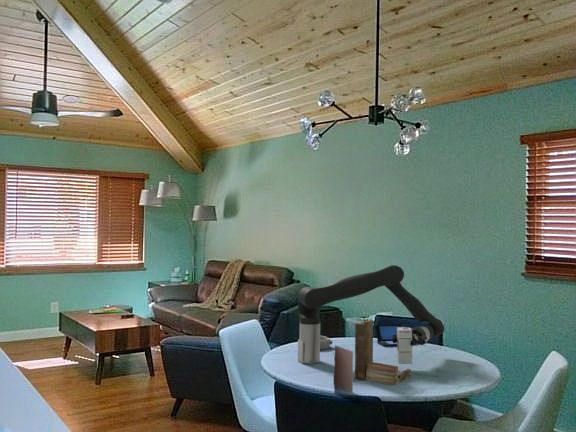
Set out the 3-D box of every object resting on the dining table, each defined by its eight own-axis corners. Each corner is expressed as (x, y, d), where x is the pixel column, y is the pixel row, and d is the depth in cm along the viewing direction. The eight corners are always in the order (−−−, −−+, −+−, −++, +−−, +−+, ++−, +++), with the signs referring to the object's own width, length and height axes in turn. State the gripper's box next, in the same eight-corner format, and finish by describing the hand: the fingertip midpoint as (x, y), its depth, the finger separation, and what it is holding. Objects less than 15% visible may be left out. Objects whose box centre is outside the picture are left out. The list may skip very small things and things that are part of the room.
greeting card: (332, 384, 208) (332, 345, 208) (351, 385, 207) (352, 345, 208) (332, 393, 197) (332, 352, 197) (352, 394, 196) (353, 352, 196)
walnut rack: (391, 386, 206) (391, 328, 206) (354, 379, 216) (355, 323, 216) (410, 376, 220) (411, 322, 220) (375, 370, 230) (376, 318, 230)
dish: (310, 351, 263) (310, 341, 263) (298, 345, 275) (298, 335, 275) (336, 349, 268) (336, 339, 268) (323, 343, 281) (323, 334, 281)
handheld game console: (384, 347, 274) (384, 329, 274) (374, 342, 287) (374, 324, 287) (412, 346, 277) (412, 328, 277) (401, 341, 290) (401, 323, 290)
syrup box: (412, 364, 226) (412, 329, 227) (398, 364, 227) (398, 329, 227) (410, 360, 232) (410, 326, 232) (396, 360, 232) (396, 326, 233)
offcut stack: (393, 385, 207) (393, 369, 208) (365, 379, 215) (365, 364, 215) (400, 382, 212) (400, 366, 212) (372, 376, 220) (372, 361, 220)
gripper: (403, 325, 245) (387, 330, 232) (433, 329, 237) (418, 335, 224) (403, 341, 245) (387, 348, 232) (433, 346, 237) (418, 353, 224)
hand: (402, 341), depth 228 cm, fingers closed on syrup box, 7 cm apart
